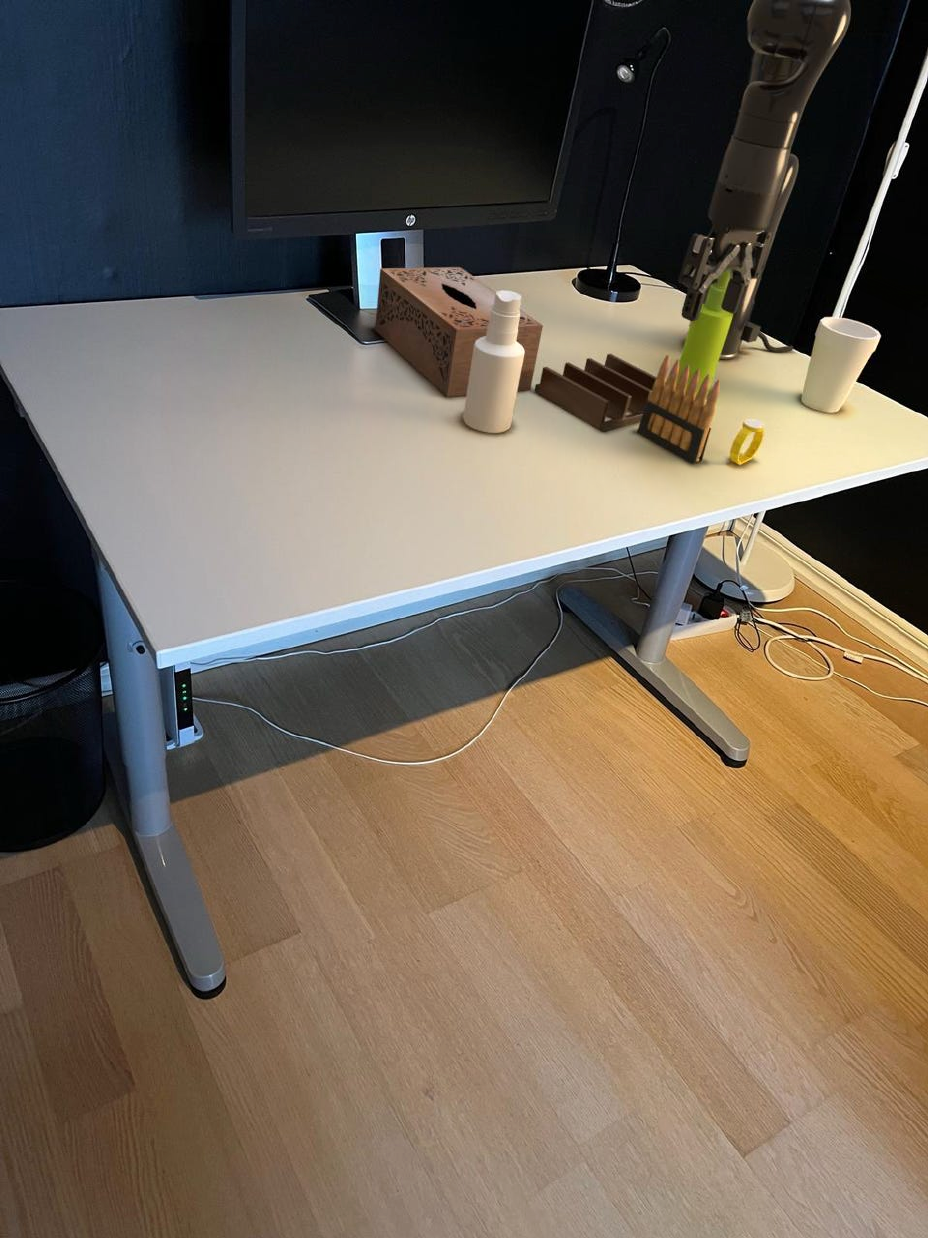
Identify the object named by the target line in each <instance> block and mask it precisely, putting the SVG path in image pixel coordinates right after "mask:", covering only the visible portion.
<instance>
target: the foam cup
mask: <svg viewBox="0 0 928 1238" xmlns="http://www.w3.org/2000/svg"><path fill="white" fill-rule="evenodd" d="M814 336H815V339H814V342H813V347H812V351H811V355H810V360H809V364H808V367H807V373H806V377H805V380H804V385H803V389H802V392H801V398H800V400H801V403H803V404H804V405H805V407H809V408H810V409H812V410H815V411H818V412H822V413H829V414H832V413H833V414H834V413H837V412H839V411H840V410H841V408H842V406H843V405H844V403H845V401H846V400H847V397H848V396H849V394H850V393H851V391H852V389H853V388H854V385H855V384H856V382H857V381H858V378H859V377H860V375H861V374H862V371H863V369H864V368H865V366H866V364H867V363H868V360H869V359H870V358H871V356H872V354H873V353H874V352H875V351H876V349H877V346H878V344H879V342H880V339H881V337H882V335H881V333H880V332H879V331H878V329H875V328H874V327H872V326H870V325H868V324H865V323H863V322H860V321H858V320H853V319H849V318H845V317H838V316H837V317H836V316H824V317H823V318H822V319H820V320H819V323H818V326H817V328H816V331H815V333H814Z"/></svg>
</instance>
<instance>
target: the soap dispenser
mask: <svg viewBox="0 0 928 1238" xmlns="http://www.w3.org/2000/svg"><path fill="white" fill-rule="evenodd" d="M729 280H730V271H729V269H728V270H726V271H723V272H722V274H721V275H720V277H719V278H718V281H717V283H714V284H712V285H710V288H709V292H708V295H707V298H706V302H705V304H702V307H701V311H700V314H699V318H698V320H696V321H691V324H690V323H689V324H690V327H689V326H688V330H687V334H686V338H685V340H684V345H683V348H682V352H681V355H680V358H679V372H678V377H677V381H676V385H675V389H676V387H677V384H678V382H679V379H680V376H681V374H682V372H683V370H684V368H685V367H686V366H687V365H689V378H688V382H687V386H686V390H685V394H686V391H687V389H688V386H689V383H690V381H691V378H692V376H693V375H694V373H695V372H696V370H699V382H698V387H697V391H696V395H695V398H696V396H697V394H698V391H699V388H700V386H701V384H702V382H703V380H704V378H705V377H706V376H707V375H709V378H710V380H709V388H708V392H707V396H709V394H710V390H711V387H712V383H713V381H714V376H715V373H716V371H717V368H718V364H719V360H720V359H719V358H720V355H721V352H722V349H723V345H724V342H725V339H726V336H727V333H728V330H729V327H730V323H731V320H732V317H733V313H729V312H727V311H725V310H723V309H722V308H721V305H722V301H723V298H724V295H725V292H726V288H727V285H728V282H729Z"/></svg>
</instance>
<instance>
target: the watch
mask: <svg viewBox="0 0 928 1238" xmlns="http://www.w3.org/2000/svg"><path fill="white" fill-rule="evenodd" d="M752 433H753V438H752V440H751V442H750V443H749V445H748V448H746V450H745V451H744V453H743V454H740V453H741V450H742V448H743V445H744V444H745V442H746V441H747V438H748V437H749V436H750V435H751V434H752ZM764 437H765V427H764V424H763V422H761V421H760V420H757V419H752V418H747V419H744V420H743V422H742V427H741V429H740V430H739V432H738V433H737V434H736V436H735V437H734V439H733V442H732V443H731V447H730V449H729V460H730V461H731V462H733V463H734V464H736V465H738V466H740V465H743V464H744V463H746V462H748V461H752V459H753V458H754V457H755V455H757V452H758V451H759V449H760V447H761V446H762V443H763V440H764Z"/></svg>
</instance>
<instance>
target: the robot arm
mask: <svg viewBox="0 0 928 1238" xmlns="http://www.w3.org/2000/svg"><path fill="white" fill-rule="evenodd" d="M851 11H852V9H851V2H850V0H753V2H752V4H751V6H750V9H749V11H748V15H747V18H746V24H745V27H746V28H745V34H746V38H747V41H748V44H749V46H750V47H751V49H752V54H751V59H750V65H749V71H748V76H747V82H746V87H745V88H746V89H745V90H744V93H743V95H742V98H741V102H740V106H739V110H738V113H737V116H736V120H735V123H734V126H733V130H732V133H731V134H732V135H731V137H730V139H729V142H728V145H727V147H726V149H725V152H724V154H723V158H722V161H721V164H720V168H719V170H718V171H719V172H718V175H717V179H716V182H715V186H714V188H713V192H712V195H711V201H710V203H709V207H708V210H707V216H708V217H707V218H709V219H710V220H711V223H712V227H711V229H710V231H709V233H708V235H702V234H699V233H697V232H695V233H694V234H693V235H692V236H691V238H690V241H689V244H688V246H687V250H686V254H685V257H684V260H683V263H682V267H681V269H680V272H679V276H678V284H681V285H684V286H686V288H687V289H686V290H687V291H686V294H685V299H684V302H683V305H682V308H681V317H682V318H683V319H685V320H687V321H689V325H688V328H689V327H690V324H691V321H696V320H698V318H699V314H700V311H701V307H702V304H705V302H706V298H707V295H708V292H709V288H710V285H712V284H714V283H717V281H718V278H719V277H720V275H721V274H722V272H723V271H726V270H728V269H729V271H730V280H729V282H728V285H727V288H726V292H725V295H724V298H723V301H722V305H721V308H722V309H723V310H725V311H727V312H729V313H733V317H732V320H731V323H730V327H729V330H728V333H727V336H726V339H725V342H724V345H723V349H722V352H721V355H720V358H719V360H728V359H729V360H730V359H734V358H735V357H736V356H737V355H738V353H739V352H740V348H741V346H742V342H746V343H748V344H750V343H753V342H756V341H757V340H758V338H760V339H761V341H762V344H763V346H764V348H765V349H766V350H767V351H769V352H772V353H784V352H792V351H793V350H794V346H793V345H786V346H780V347H775V346H773V345H771V344H770V342H769V339H768V337H767V336H766V334H764V333H763V332H762V331H761V326H760V325H758V324H755V323H753V322H751V321H750V318H751V315H752V314H753V313H752V312H753V310H754V306H755V303H756V301H755V299H756V295H757V291H758V289H759V286H760V282H761V280H762V276H763V273H764V270H765V267H766V264H767V261H768V259H769V256H770V252H771V249H772V246H773V243H774V240H775V237H776V233H777V231H778V227H779V225H780V222H781V220H782V216H783V214H784V211H785V208H786V206H787V204H788V201H789V198H790V196H791V194H792V191H793V188H794V185H795V183H796V180H797V176H798V172H799V165H800V164H799V159H798V156H796V155H795V154H793V153H791V149H792V147H793V144H794V140H795V138H796V134H797V131H798V127H799V125H800V122H801V119H802V115H803V113H804V110H805V107H806V105H807V103H808V100H809V98H810V96H811V94H812V92H813V90H814V88H815V86H816V84H817V82H818V80H819V78H820V77H821V76H822V73H823V72H824V70H825V68H826V67H827V65H828V63H830V61H831V59H832V58H833V56H834V54H835V52H836V50H838V48H839V46H840V44H841V42H842V40H843V39H844V37H845V35H846V32H847V30H848V28H849V25H850V21H851V15H852V13H851ZM707 263H708V264H707ZM692 267H693V268H694V269H693V270H692V272H691V269H692ZM690 272H691V274H690ZM703 275H705V276H704V278H703ZM702 278H703V279H702Z"/></svg>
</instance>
